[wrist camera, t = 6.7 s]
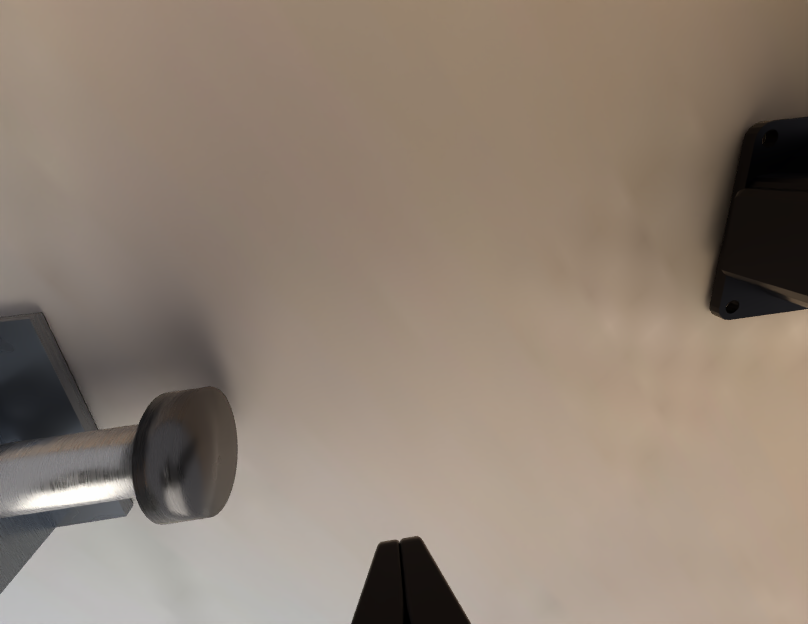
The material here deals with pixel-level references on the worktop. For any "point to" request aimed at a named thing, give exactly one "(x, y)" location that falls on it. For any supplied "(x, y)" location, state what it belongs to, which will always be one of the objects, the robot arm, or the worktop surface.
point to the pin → (132, 462)
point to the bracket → (39, 429)
